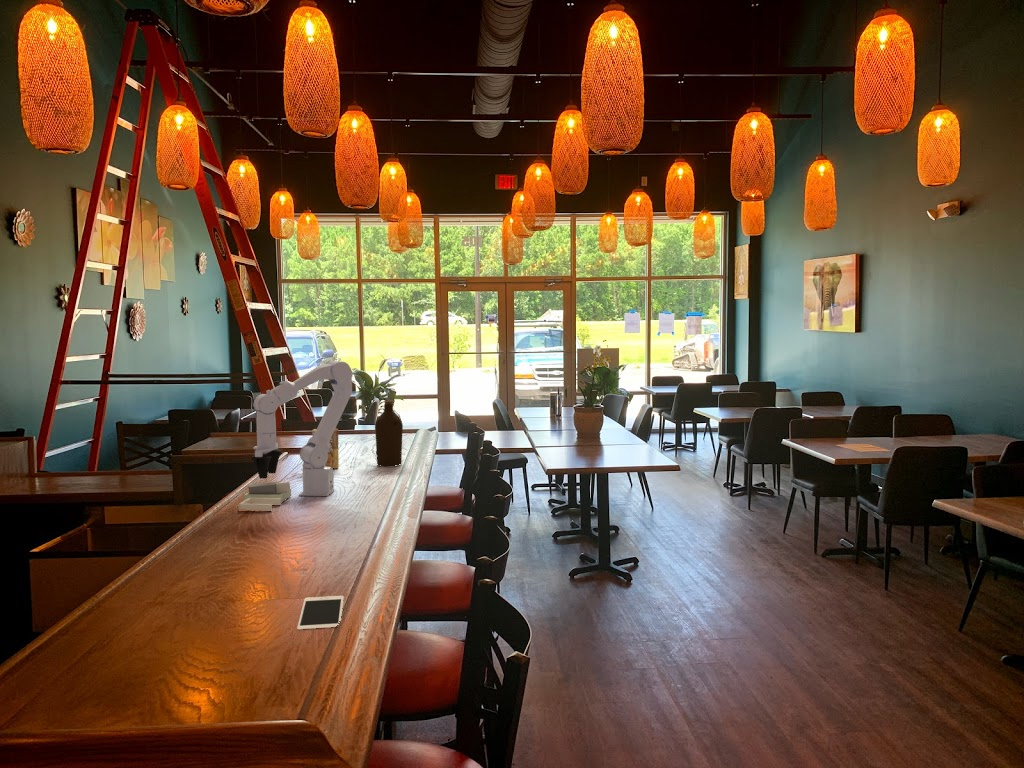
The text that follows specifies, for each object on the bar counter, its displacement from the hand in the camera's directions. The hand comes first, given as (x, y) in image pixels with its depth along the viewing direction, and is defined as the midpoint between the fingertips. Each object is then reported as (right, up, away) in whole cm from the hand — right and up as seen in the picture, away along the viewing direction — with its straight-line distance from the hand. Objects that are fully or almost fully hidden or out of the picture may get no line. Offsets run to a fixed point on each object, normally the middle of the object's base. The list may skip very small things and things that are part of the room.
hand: (267, 475), depth 240 cm
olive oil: (+29, -3, +58) cm, 65 cm away
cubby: (+1, -9, -10) cm, 14 cm away
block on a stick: (+1, -7, +1) cm, 7 cm away
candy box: (+6, -4, +49) cm, 50 cm away
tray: (0, -8, +1) cm, 8 cm away
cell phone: (+39, -16, -91) cm, 101 cm away
